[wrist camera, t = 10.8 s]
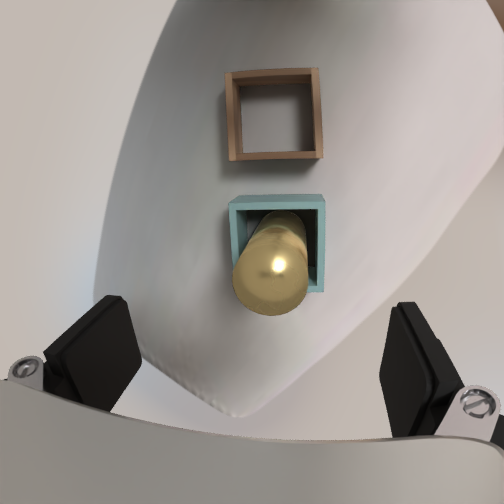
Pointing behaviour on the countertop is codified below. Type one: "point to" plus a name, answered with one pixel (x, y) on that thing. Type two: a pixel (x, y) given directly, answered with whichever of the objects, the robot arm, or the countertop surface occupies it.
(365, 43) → the countertop surface
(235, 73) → the socket block
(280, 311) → the gold domed peg
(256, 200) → the block
